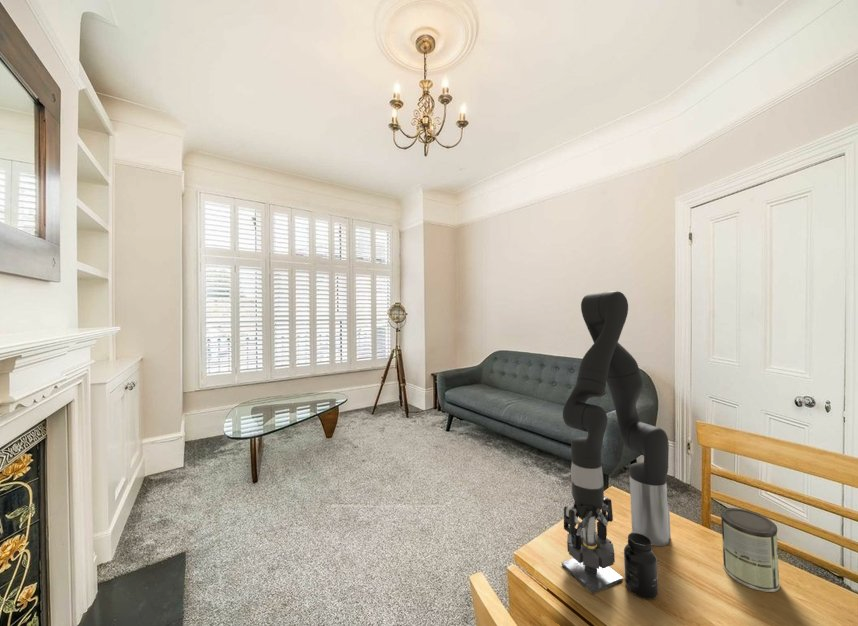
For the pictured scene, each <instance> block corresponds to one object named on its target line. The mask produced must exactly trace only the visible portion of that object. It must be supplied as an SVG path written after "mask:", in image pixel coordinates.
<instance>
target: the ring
mask: <svg viewBox="0 0 858 626" xmlns="http://www.w3.org/2000/svg"><path fill="white" fill-rule="evenodd" d="M580 535H581V549H580V550H578V549H577V548H575V547H574V546H573V545H572V543H571V541H572V540H571V534H570V533H569V532H568V533H567V539H566V543H567V545H566V547H567V552H568V554H569V555H570V556H571V557H572V558H574V559H575V560H577V561H578V562H579V563H582V562H583V565H585V566H589V567H593V568H597V569H599V566H600V567H601V568H602V569H604V568H606V567H611V566H613V565H614V563H615V562H616V561H615V560H616V559H615V557H616V556H615V550H614V549H615V548H614V543H612V541H611V540H610V539H609V538H607V537H606V540H602V539H601V538H599V537H598V535H597V531H596V543H597V549H596V550H592V549H588V548H585V547H584V546H583V529H582V531H581V533H580Z"/></svg>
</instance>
